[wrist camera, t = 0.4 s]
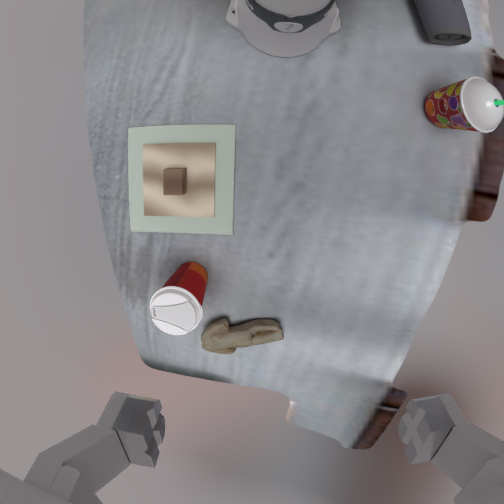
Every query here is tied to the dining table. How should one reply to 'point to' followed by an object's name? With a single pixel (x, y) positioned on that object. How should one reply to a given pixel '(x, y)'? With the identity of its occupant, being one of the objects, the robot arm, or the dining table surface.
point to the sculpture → (239, 335)
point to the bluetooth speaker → (444, 21)
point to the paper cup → (180, 300)
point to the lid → (179, 179)
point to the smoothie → (466, 106)
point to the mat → (223, 177)
